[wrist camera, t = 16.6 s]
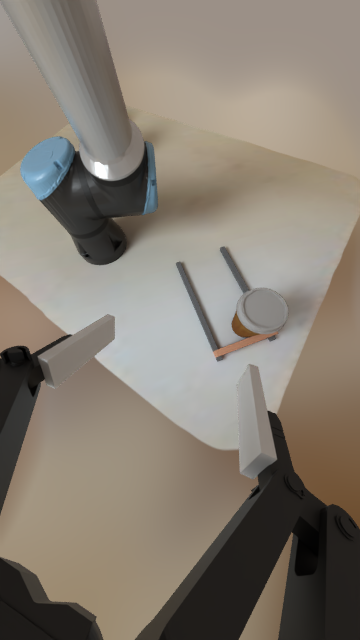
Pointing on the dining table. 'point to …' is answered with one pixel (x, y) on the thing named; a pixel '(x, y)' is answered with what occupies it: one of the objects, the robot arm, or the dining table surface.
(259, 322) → the disposable coffee cup
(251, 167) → the dining table surface
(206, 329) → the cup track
